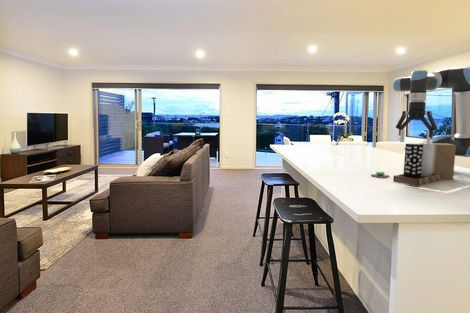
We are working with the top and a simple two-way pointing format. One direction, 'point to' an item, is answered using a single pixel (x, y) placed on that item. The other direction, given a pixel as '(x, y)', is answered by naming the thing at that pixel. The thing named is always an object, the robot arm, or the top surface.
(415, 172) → the spotted tube
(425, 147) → the seated billet
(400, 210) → the top surface
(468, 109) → the robot arm
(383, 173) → the button
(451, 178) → the wooden block
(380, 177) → the button housing
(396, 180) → the divided wooden tray
